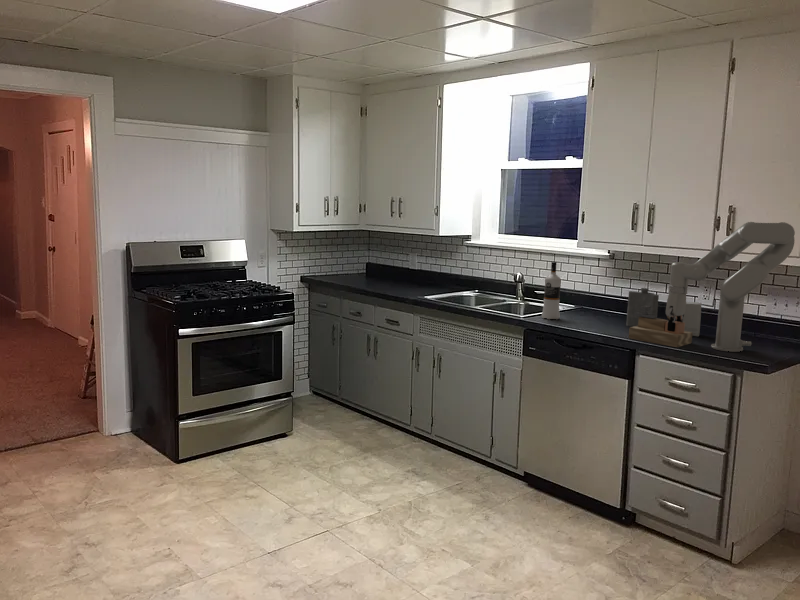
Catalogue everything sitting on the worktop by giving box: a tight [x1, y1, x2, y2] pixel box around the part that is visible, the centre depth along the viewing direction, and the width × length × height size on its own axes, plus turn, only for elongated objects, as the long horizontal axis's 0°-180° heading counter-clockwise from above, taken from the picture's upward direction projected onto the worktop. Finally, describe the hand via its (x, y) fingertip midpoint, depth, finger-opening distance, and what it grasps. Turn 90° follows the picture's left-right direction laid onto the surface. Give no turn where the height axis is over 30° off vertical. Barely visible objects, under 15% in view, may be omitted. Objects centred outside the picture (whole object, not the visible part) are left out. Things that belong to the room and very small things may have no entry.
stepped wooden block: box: [628, 317, 693, 348], centre depth 309 cm, size 14×23×10 cm, turn 42°
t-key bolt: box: [633, 306, 658, 319], centre depth 314 cm, size 6×10×5 cm, turn 42°
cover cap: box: [665, 321, 685, 334], centre depth 304 cm, size 6×6×4 cm
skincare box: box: [683, 301, 702, 337], centre depth 324 cm, size 8×7×16 cm
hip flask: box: [625, 287, 660, 327], centre depth 339 cm, size 16×4×20 cm, turn 39°
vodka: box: [541, 261, 562, 320], centre depth 358 cm, size 9×9×30 cm
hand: (674, 329), depth 304 cm, fingers closed on cover cap, 6 cm apart
